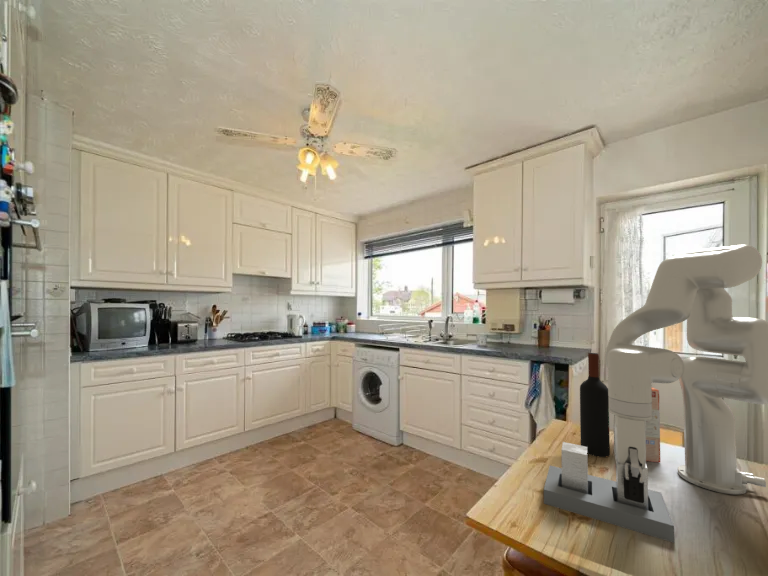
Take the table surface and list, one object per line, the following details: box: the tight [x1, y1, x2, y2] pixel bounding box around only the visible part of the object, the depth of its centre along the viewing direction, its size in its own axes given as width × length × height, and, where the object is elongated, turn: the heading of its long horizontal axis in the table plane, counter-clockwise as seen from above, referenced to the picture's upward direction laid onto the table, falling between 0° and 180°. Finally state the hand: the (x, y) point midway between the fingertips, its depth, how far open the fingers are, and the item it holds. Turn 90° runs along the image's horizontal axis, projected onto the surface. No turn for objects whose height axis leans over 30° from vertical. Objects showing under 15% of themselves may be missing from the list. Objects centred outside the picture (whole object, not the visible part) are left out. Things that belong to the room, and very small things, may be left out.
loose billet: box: [615, 461, 649, 510], centre depth 70 cm, size 5×5×11 cm
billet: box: [561, 441, 589, 494], centre depth 76 cm, size 5×5×11 cm
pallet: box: [543, 465, 675, 543], centre depth 73 cm, size 22×13×4 cm, turn 58°
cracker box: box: [645, 387, 661, 463], centre depth 102 cm, size 14×6×21 cm, turn 168°
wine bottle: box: [579, 352, 611, 458], centre depth 102 cm, size 8×8×30 cm
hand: (631, 488), depth 70 cm, fingers open, 9 cm apart
